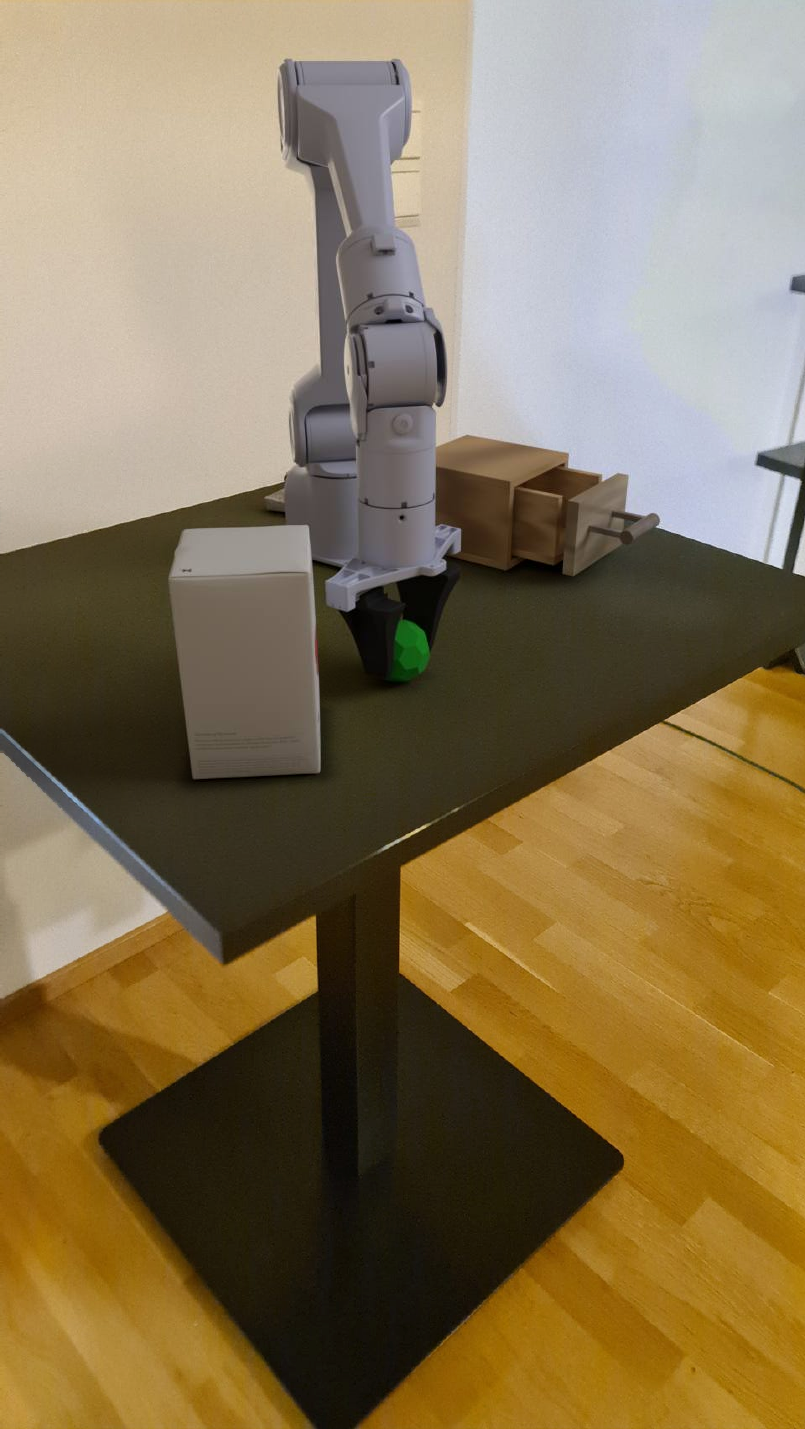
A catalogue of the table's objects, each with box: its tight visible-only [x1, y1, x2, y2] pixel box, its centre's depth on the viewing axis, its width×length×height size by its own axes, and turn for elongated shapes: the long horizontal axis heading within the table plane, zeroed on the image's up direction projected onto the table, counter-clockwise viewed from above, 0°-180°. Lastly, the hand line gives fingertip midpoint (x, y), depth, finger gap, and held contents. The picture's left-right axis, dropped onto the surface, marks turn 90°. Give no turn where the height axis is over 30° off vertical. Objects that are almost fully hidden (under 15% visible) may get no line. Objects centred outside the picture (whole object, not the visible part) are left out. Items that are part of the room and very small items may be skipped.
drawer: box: [511, 466, 661, 577], centre depth 101 cm, size 16×10×7 cm, turn 53°
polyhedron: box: [385, 619, 431, 683], centre depth 81 cm, size 5×5×5 cm
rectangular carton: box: [167, 524, 322, 780], centre depth 70 cm, size 9×9×15 cm
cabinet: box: [435, 434, 570, 571], centre depth 106 cm, size 13×12×9 cm
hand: (398, 662), depth 81 cm, fingers closed on polyhedron, 5 cm apart
